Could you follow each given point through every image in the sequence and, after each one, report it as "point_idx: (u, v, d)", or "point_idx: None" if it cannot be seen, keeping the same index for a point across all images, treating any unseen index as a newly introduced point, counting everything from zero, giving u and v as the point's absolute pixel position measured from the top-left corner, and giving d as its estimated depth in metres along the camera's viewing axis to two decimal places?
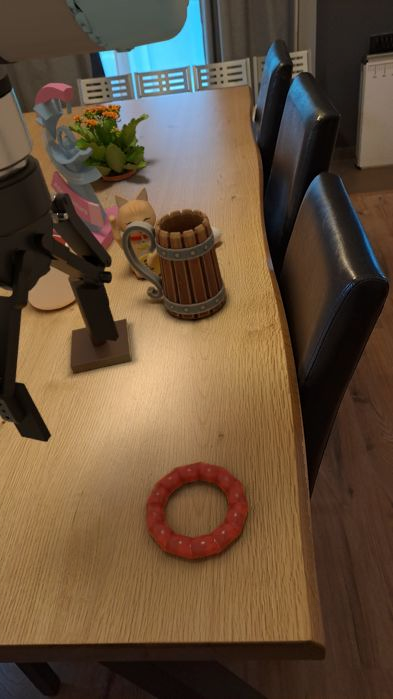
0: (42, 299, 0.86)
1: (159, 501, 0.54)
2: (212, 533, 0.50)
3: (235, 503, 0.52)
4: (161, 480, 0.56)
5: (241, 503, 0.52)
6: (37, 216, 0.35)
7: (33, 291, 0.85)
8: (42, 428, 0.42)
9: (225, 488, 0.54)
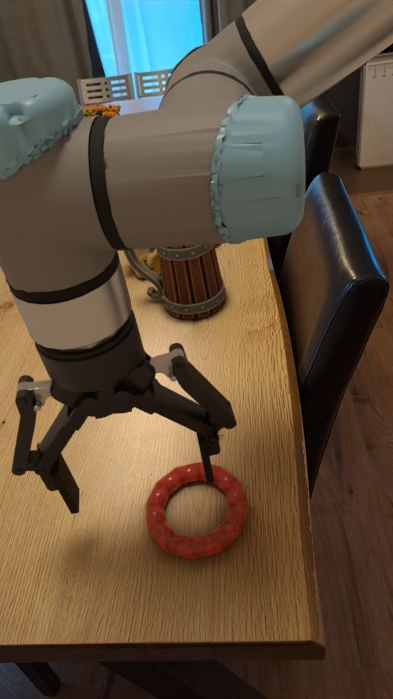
0: None
1: (159, 501, 0.54)
2: (212, 533, 0.50)
3: (235, 503, 0.52)
4: (161, 480, 0.56)
5: (241, 503, 0.52)
6: (86, 389, 0.35)
7: None
8: (70, 505, 0.48)
9: (225, 488, 0.54)
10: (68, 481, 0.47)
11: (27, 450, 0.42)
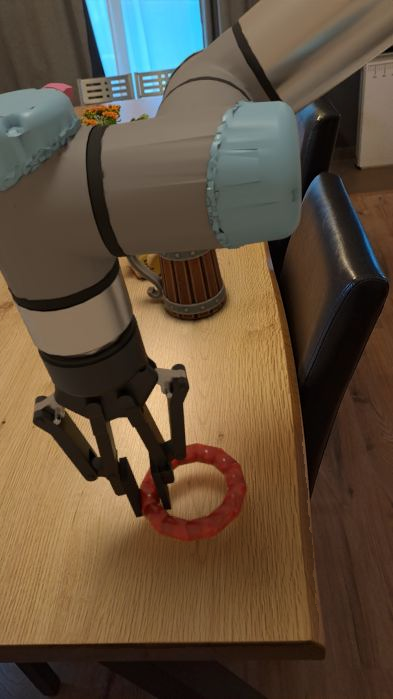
0: None
1: None
2: (209, 515, 0.48)
3: (233, 484, 0.50)
4: None
5: (239, 484, 0.50)
6: (89, 394, 0.36)
7: None
8: (135, 509, 0.50)
9: (223, 469, 0.52)
10: (134, 486, 0.49)
11: (81, 458, 0.44)
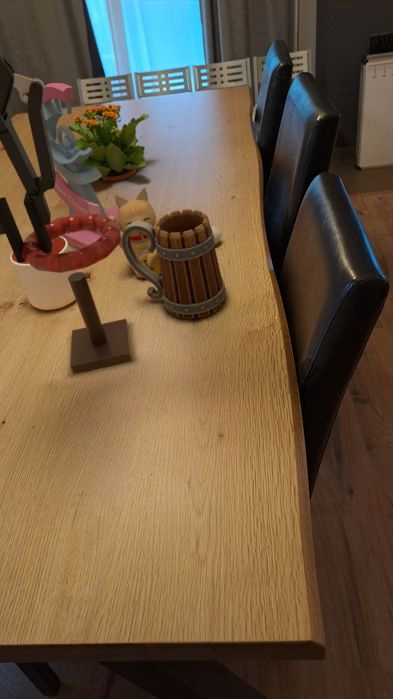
0: (42, 299, 0.86)
1: None
2: (80, 249, 0.53)
3: (106, 231, 0.55)
4: None
5: (112, 231, 0.55)
6: None
7: (33, 291, 0.85)
8: (15, 250, 0.54)
9: (102, 226, 0.57)
10: (13, 227, 0.54)
11: None
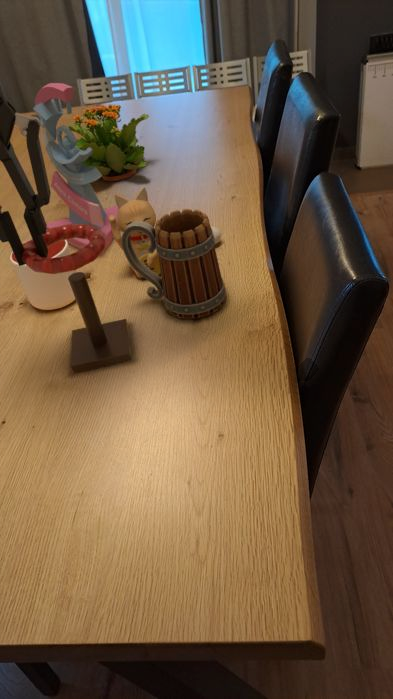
0: (42, 299, 0.86)
1: None
2: (70, 254, 0.63)
3: (93, 239, 0.65)
4: None
5: (98, 239, 0.65)
6: None
7: (33, 291, 0.85)
8: (17, 255, 0.65)
9: (90, 235, 0.67)
10: (15, 236, 0.64)
11: None
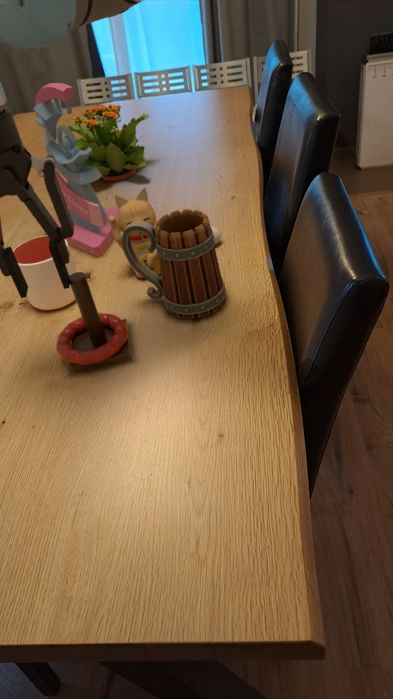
0: (42, 299, 0.86)
1: (66, 334, 0.77)
2: (98, 348, 0.73)
3: (117, 332, 0.75)
4: (70, 323, 0.79)
5: (121, 332, 0.75)
6: None
7: (33, 291, 0.85)
8: (19, 288, 0.68)
9: (114, 325, 0.77)
10: (17, 270, 0.67)
11: None
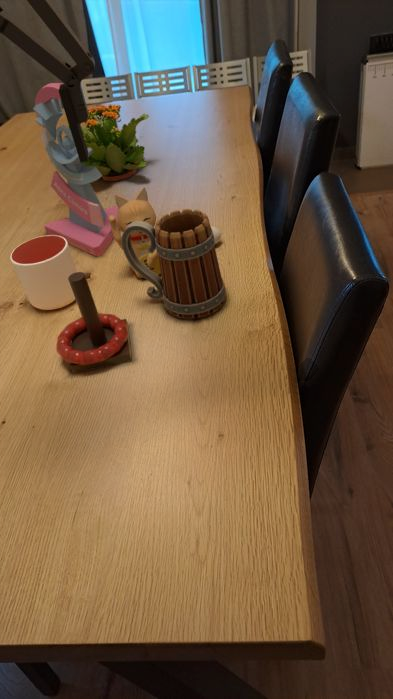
0: (42, 299, 0.86)
1: (67, 334, 0.77)
2: (98, 348, 0.73)
3: (117, 332, 0.75)
4: (70, 323, 0.79)
5: (121, 332, 0.75)
6: None
7: (33, 291, 0.85)
8: None
9: (114, 326, 0.77)
10: None
11: None
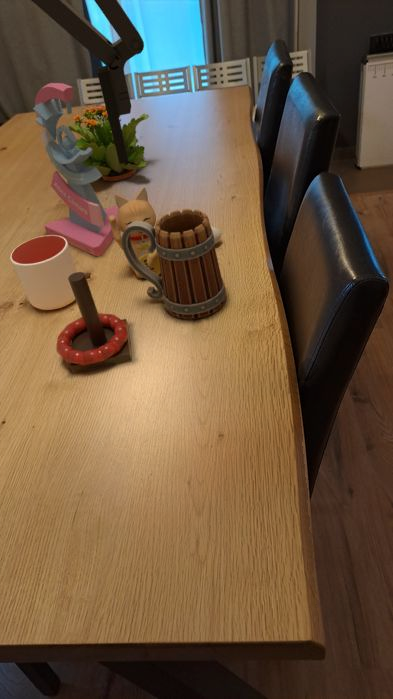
0: (42, 299, 0.86)
1: (67, 334, 0.77)
2: (98, 348, 0.73)
3: (117, 332, 0.75)
4: (70, 323, 0.79)
5: (121, 332, 0.75)
6: None
7: (33, 291, 0.85)
8: None
9: (114, 326, 0.77)
10: None
11: None
